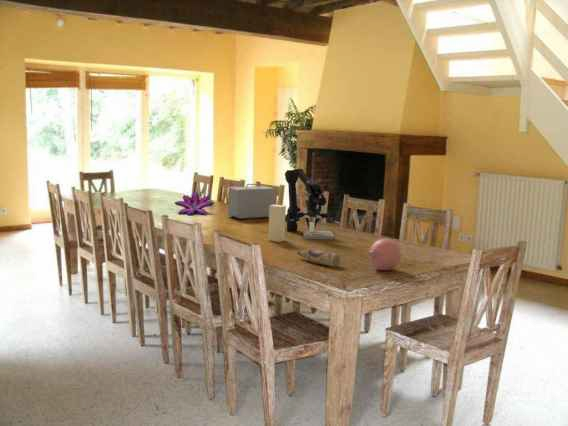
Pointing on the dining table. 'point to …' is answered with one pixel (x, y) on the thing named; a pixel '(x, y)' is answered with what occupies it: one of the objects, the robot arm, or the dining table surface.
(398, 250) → the pink round piece
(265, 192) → the vintage electronic device
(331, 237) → the console
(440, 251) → the dining table surface
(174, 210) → the dining table surface
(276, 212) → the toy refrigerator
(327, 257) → the decorative bottle
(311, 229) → the fader tab
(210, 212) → the dining table surface
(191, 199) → the decorative flower
